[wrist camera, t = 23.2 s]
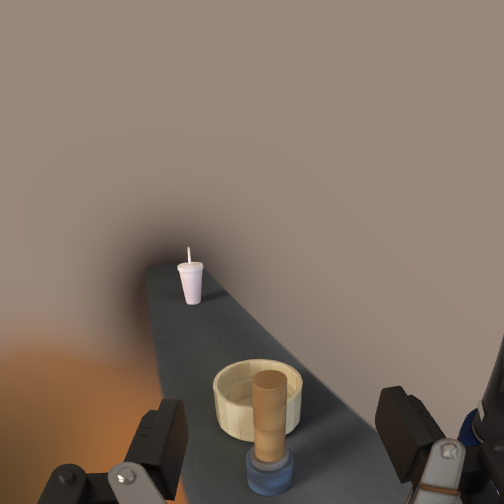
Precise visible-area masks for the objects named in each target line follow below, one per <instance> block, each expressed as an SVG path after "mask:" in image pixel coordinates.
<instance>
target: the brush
mask: <svg viewBox="0 0 504 504" xmlns="http://www.w3.org/2000/svg"><path fill="white" fill-rule="evenodd" d="M252 403H253V424H254V446H253V447H252V449H250V450H249V452H248V453H247V455H246V469H247V481H248V485H249V487H250V488H251V489H252V490H253V491H254V492H256V493H258V494H260V495H264V496H274V495H278V494H281V493H283V492H285V491H286V490H287V489H288V488H289V487H290V485H291V483H292V474H293V462H294V456H293V453H292V452H291V450H290V449H289V448H288V447H287V446H286V445H285V435H286V410H287V377H286V375H285V374H284V373H282V372H280V371H276V370H264V371H260V372H258V373H256V374H255V375H254V376H253V377H252Z"/></svg>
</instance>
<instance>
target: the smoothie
mask: <svg viewBox="0 0 504 504" xmlns="http://www.w3.org/2000/svg"><path fill="white" fill-rule="evenodd" d="M188 260H189V262H187V263H182V264H180V265H178V271H179V272H180V276H181V281H182V285H183V290H184V294H185V298H186V303H187V304H198V303H200V302H201V283H202V269H203V264H202V263H199V262H191V258H190V247H188Z"/></svg>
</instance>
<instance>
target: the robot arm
mask: <svg viewBox="0 0 504 504" xmlns="http://www.w3.org/2000/svg"><path fill="white" fill-rule="evenodd" d="M375 425H376V429H377V431H378V433H379V436H380V438H381V440H382V442H383V444H384V446H385V449H386V451H387V453H388V455H389V457H390V460H391V462H392V464H393V466H394V468H395V471H396V473H397V475H398V477H399V480H400V482H401V484H402V483H406V482H409V481H411V482H412V484H413V486H412V488H411V490H410V493H409V495H408V497H407V500H406V502H405V504H458V503H459V500H460V498H461V500H462V502H463V504H504V336H503V340H502V343H501V347H500V350H499V353H498V356H497V360H496V363H495V366H494V369H493V372H492V375H491V378H490V380H489V383H488V386H487V388H486V391H485V394H484V396H483V399H482V401H481V400H479V403H478V411H477V413H476V415H475V416H474V418H473V420H472V423H471V433H472V435H473V437H474V439H475V440H476V442H477V443H478V444H479V445H477V446H466V447H464V446H463V444H462V443H461V442H459V441H458V440H455V439H452V438H446V437H445V435H444V433H443V432H442V431H441V429H440V428H439V426H438V425H437V423H436V422H435V420H434V419H433V417H431V415H430V413H429V412H428V410H426V407H425V406H424V405H423V403H422V402H421V401H420V400H419V399H417V398H416V397H414V396H413V395H409V396H407V394H406V393H405V391H404V390H403V388H402V387H401V386H395V387H389V388H384V389H382V391H381V394H380V398H379V403H378V407H377V411H376V415H375ZM138 427H139V428H138V429H137V431H136V433H135V436H134V438H133V440H132V443H131V445H130V447H129V450H128V452H127V455H126V457H125V459H124V462H123V463H119V464H117V465H115V466H114V467H112V469H111V470H110V471H109V472H108V473H90V474H86V473H85V471H84V470H83V469H82V468H81V467H79V466H78V465H75V464H64V465H61V466H59V467H57V468H56V469H55V470H54V471H53V472H52V474H51V476H50V478H49V480H48V482H47V484H46V487H45V489H44V491H43V493H42V495H41V497H40V499H39V501H38V503H37V504H167V502H166V501H165V500H172V501H174V500H175V496H176V491H177V486H178V482H179V477H180V473H181V468H182V464H183V459H184V455H185V450H186V446H187V441H188V425H187V421H186V416H185V411H184V406H183V402H182V400H174V399H163V400H162V401H161V404H160V407H159V409H158V411H157V410H150V411H149V412H148V413H146V414H145V415H144V416H143V417H142V419H141V421H140V424H139V426H138ZM492 481H493V483H494V485H495V487H496V488H497V490H498V492H499V495H500V496H499V495H498V493H497V491H496V489H495V487H494V486H493V484H492Z"/></svg>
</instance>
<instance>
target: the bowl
mask: <svg viewBox="0 0 504 504" xmlns="http://www.w3.org/2000/svg"><path fill="white" fill-rule="evenodd" d="M264 370H276V371H280V372H282V373H284V374H285V375H286V377H287V410H286V435H287V434H288V433H290V432H291V431H292V430H293V429H294V428H295V427H296V426H297V424H298V423H299V420H300V416H301V404H302V389H303V381H302V378H301V375H300V374H299V373H298V372H297V371H296V370H295V369H294V368H293V367H291V366H289V365H287V364H285V363H282V362H278V361H274V360H265V359H255V360H246V361H241V362H237V363H234V364H232V365H230V366H227V367H226V368H224V369H223V370H222V371H220V372H219V373H218V374H217V376H216V377H215V379H214V384H213V390H214V398H215V405H216V413H217V420H218V422H219V424H220V426H221V428H222V429H223V430H224V431H226V432H227V433H228V434H229V435H231V436H233V437H235V438H237V439H240V440H244V441H250V442H254V424H253V403H252V377H253V376H254V375H255V374H256V373H258V372H260V371H264Z"/></svg>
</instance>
